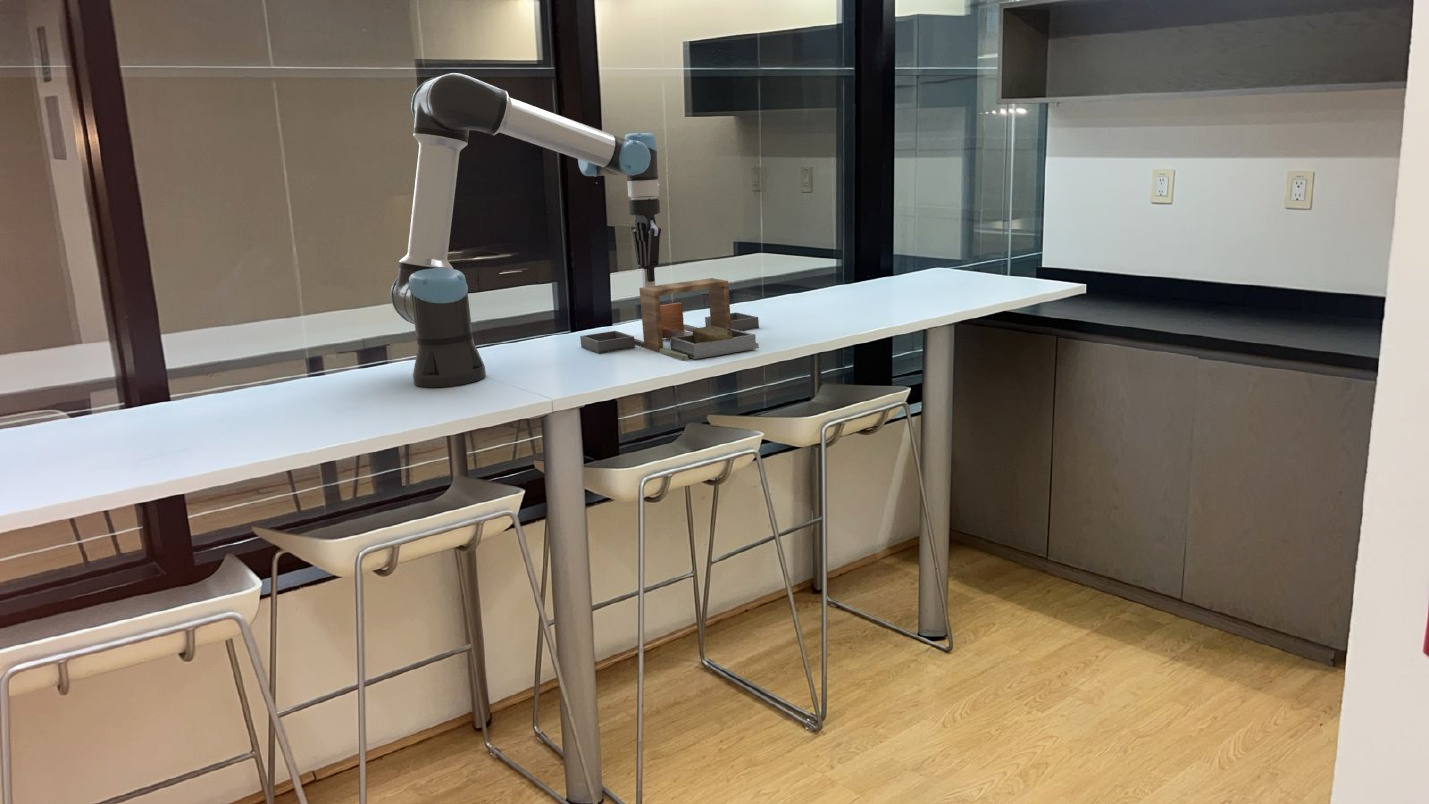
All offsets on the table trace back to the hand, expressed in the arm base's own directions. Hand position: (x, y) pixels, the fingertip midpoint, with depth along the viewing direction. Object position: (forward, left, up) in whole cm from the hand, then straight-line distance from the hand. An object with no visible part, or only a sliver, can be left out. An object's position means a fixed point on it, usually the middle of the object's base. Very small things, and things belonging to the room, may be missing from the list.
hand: (649, 294), depth 264 cm
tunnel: (+1, -17, -10) cm, 20 cm away
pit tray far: (+19, -8, -10) cm, 22 cm away
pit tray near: (-15, -8, -10) cm, 20 cm away
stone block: (+1, -31, -10) cm, 33 cm away
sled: (+1, -22, -10) cm, 24 cm away
